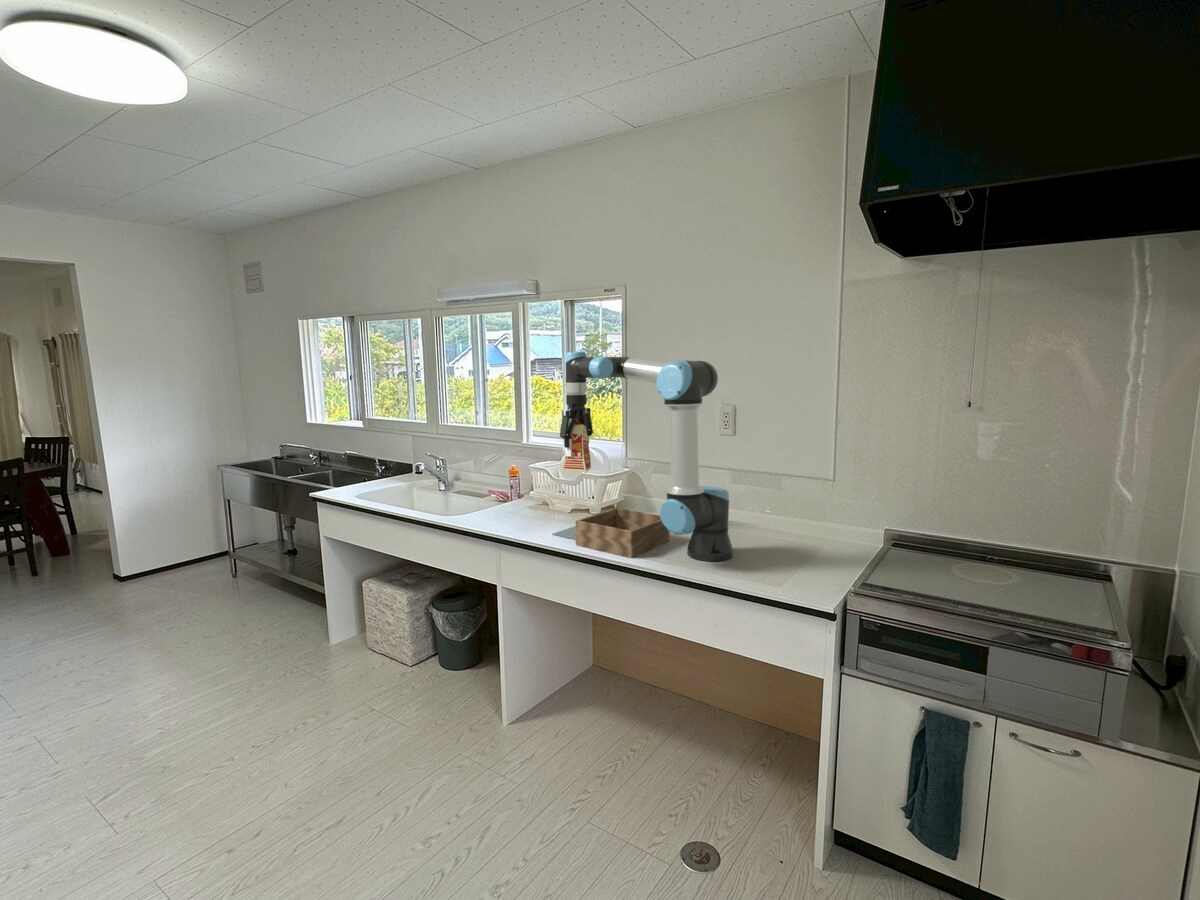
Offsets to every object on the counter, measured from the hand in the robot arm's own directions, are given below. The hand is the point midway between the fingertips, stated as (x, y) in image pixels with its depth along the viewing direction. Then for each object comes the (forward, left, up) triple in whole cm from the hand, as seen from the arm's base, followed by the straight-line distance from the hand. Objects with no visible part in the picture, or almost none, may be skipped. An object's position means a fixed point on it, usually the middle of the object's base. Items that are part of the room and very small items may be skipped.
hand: (577, 454), depth 228 cm
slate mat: (0, 0, -30) cm, 30 cm away
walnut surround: (-21, 0, -30) cm, 37 cm away
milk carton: (0, 0, -6) cm, 6 cm away
